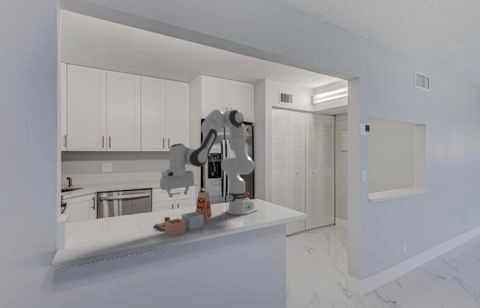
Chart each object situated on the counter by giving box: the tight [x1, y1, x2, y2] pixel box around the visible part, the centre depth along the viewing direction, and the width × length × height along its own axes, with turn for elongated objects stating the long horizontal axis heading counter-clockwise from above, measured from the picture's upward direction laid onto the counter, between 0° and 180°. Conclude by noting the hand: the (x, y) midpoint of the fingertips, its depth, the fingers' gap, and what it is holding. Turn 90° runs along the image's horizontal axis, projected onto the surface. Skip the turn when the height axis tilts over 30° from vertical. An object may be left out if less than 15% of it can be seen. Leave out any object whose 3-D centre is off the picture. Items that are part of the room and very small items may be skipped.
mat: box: [153, 225, 165, 232], centre depth 137 cm, size 11×11×1 cm
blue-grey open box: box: [181, 211, 204, 231], centre depth 137 cm, size 9×9×7 cm
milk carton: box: [195, 187, 213, 221], centre depth 155 cm, size 9×9×20 cm
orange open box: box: [164, 218, 187, 237], centre depth 128 cm, size 8×8×6 cm
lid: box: [154, 216, 171, 230], centre depth 137 cm, size 10×10×5 cm
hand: (178, 195), depth 137 cm, fingers open, 8 cm apart
